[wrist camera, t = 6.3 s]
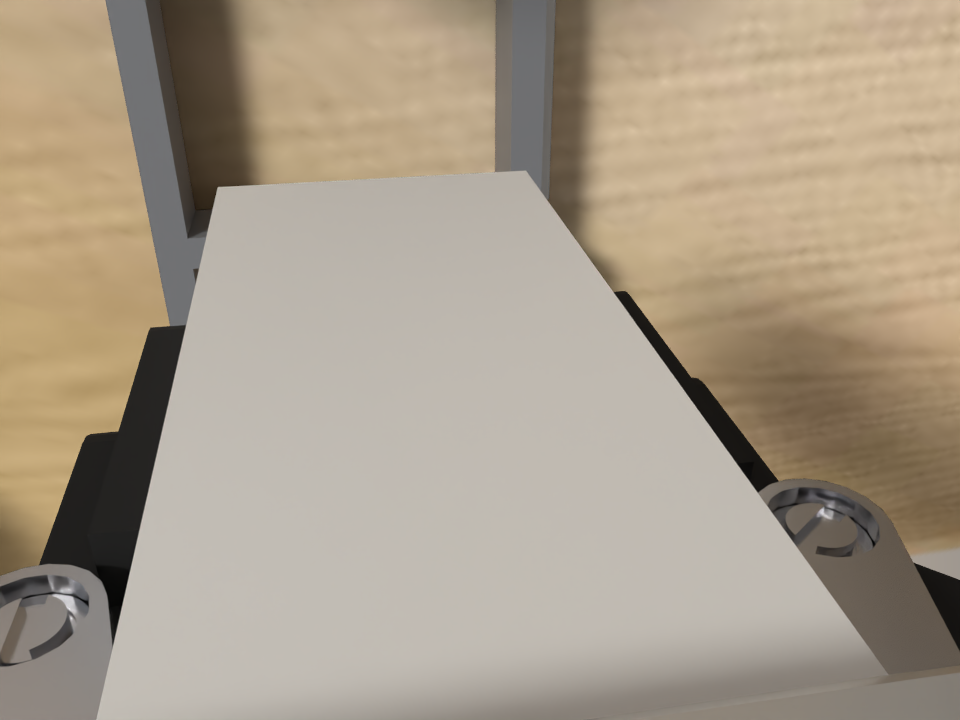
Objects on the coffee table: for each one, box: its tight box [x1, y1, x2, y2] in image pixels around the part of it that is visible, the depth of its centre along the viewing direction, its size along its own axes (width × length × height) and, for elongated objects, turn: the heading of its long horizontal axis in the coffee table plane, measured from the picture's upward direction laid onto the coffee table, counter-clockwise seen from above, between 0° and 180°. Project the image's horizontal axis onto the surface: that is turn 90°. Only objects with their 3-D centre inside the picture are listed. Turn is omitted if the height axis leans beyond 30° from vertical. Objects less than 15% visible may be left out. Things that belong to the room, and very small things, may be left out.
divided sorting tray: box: [106, 0, 556, 326], centre depth 29 cm, size 13×20×4 cm, turn 0°
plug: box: [96, 171, 888, 720], centre depth 9 cm, size 4×4×11 cm
